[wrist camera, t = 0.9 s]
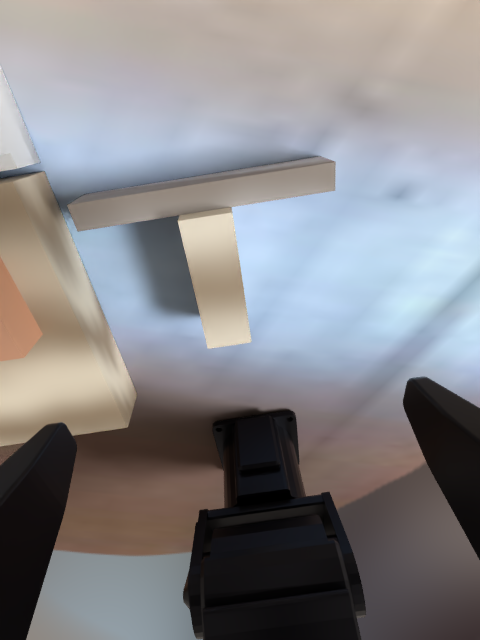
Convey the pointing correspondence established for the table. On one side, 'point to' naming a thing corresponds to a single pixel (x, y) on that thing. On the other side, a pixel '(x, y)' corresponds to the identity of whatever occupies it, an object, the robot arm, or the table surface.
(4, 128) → the box
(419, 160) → the table surface
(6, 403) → the board
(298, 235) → the table surface
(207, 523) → the robot arm
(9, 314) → the tile
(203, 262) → the scraper
